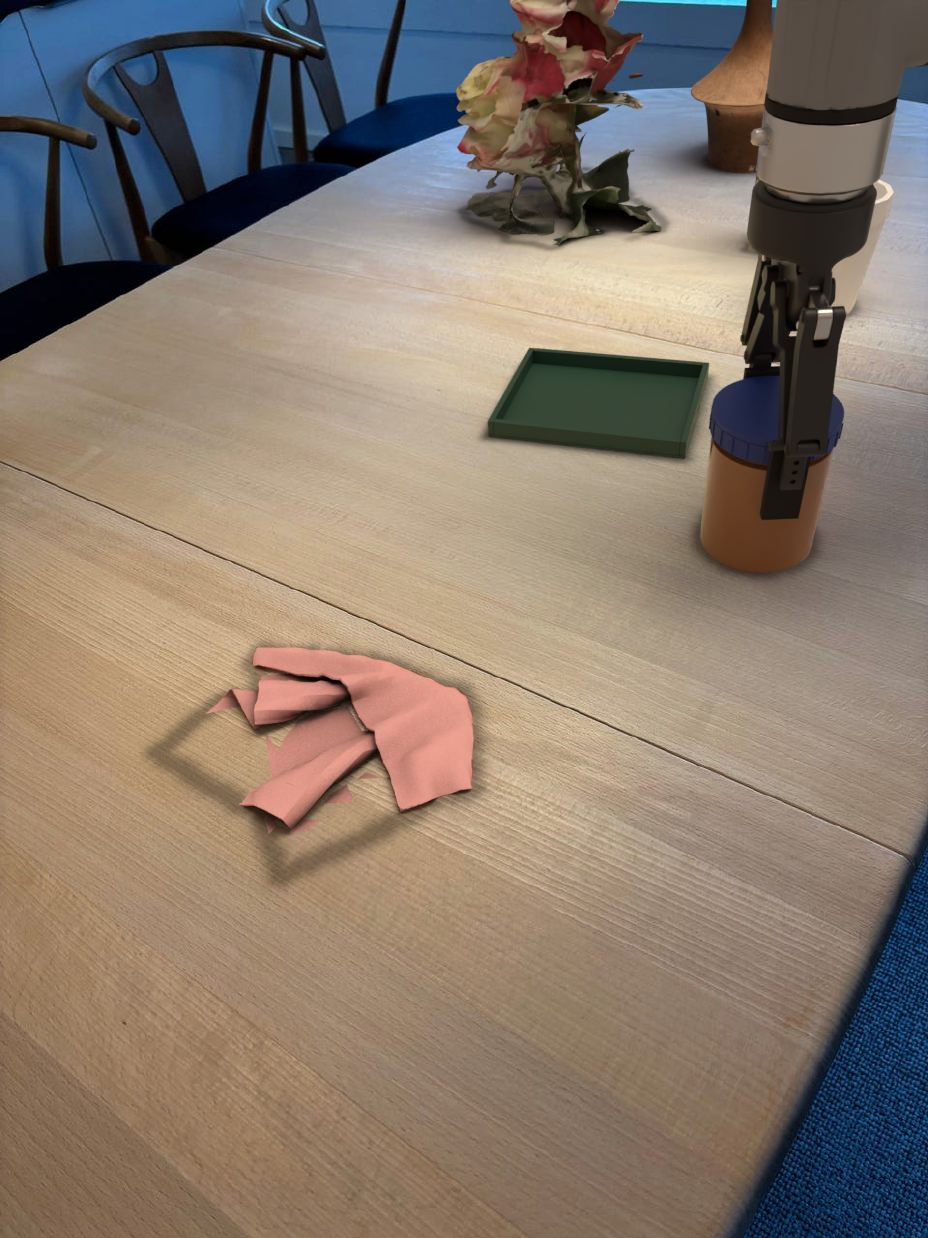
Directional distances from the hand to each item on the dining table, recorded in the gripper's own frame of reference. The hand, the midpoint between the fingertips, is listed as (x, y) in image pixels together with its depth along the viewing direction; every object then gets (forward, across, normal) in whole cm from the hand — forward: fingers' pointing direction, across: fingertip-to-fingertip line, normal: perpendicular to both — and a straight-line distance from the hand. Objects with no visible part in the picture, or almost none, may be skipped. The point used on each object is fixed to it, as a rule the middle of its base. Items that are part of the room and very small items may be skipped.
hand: (764, 476), depth 75 cm
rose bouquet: (+7, -75, -14) cm, 77 cm away
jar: (+6, 0, 0) cm, 6 cm away
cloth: (+7, +20, -34) cm, 40 cm away
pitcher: (+7, -91, +16) cm, 93 cm away
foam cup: (+7, -41, +16) cm, 45 cm away
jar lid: (-6, 0, 0) cm, 6 cm away
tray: (+6, -22, -11) cm, 26 cm away
